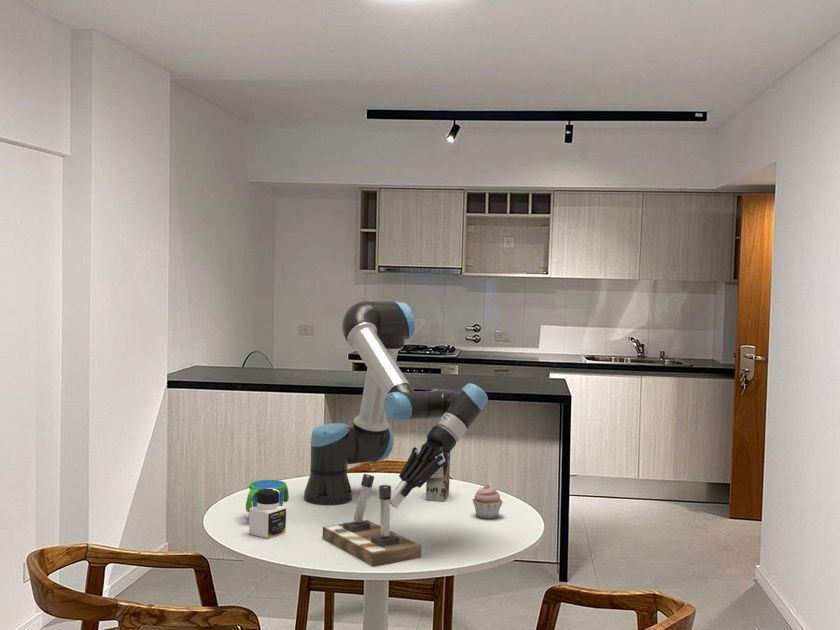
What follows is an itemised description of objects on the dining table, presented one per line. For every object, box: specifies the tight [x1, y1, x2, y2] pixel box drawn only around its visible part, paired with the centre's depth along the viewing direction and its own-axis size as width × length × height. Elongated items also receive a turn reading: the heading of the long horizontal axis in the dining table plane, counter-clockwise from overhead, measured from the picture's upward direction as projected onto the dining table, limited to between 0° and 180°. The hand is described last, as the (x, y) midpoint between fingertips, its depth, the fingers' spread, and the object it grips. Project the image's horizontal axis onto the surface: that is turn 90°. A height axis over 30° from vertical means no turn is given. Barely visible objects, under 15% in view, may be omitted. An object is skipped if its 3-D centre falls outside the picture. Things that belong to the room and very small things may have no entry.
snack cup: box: [245, 479, 290, 514], centre depth 245 cm, size 16×10×10 cm
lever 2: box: [378, 484, 392, 536], centre depth 216 cm, size 3×3×12 cm
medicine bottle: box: [248, 488, 287, 539], centre depth 231 cm, size 7×7×12 cm
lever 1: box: [353, 473, 375, 522], centre depth 228 cm, size 3×3×12 cm
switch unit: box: [322, 519, 422, 567], centre depth 222 cm, size 26×14×4 cm, turn 35°
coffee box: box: [425, 452, 451, 502], centre depth 275 cm, size 9×6×16 cm
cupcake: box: [472, 483, 504, 520], centre depth 255 cm, size 9×9×10 cm
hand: (392, 504), depth 217 cm, fingers closed
